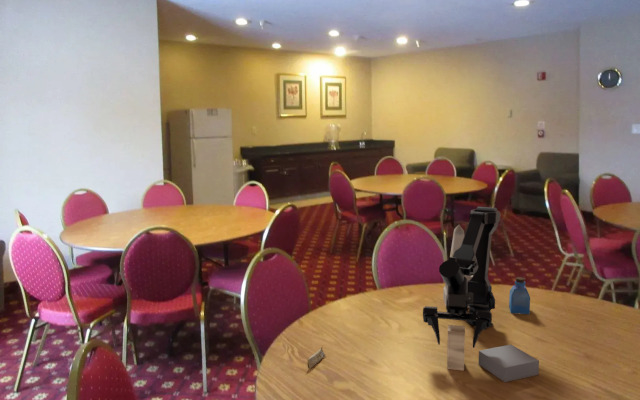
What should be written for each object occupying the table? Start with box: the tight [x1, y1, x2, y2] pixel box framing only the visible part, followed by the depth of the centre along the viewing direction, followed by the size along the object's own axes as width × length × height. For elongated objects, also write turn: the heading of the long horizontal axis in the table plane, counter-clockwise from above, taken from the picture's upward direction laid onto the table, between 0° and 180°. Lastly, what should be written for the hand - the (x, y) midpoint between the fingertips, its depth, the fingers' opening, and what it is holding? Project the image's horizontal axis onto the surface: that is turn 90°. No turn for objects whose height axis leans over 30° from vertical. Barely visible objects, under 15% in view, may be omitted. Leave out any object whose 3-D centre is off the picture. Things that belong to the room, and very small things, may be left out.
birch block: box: [446, 324, 466, 372], centre depth 145 cm, size 4×4×11 cm
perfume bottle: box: [508, 276, 531, 315], centre depth 186 cm, size 6×6×12 cm
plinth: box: [478, 344, 540, 383], centre depth 143 cm, size 11×11×4 cm
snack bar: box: [306, 346, 326, 370], centre depth 149 cm, size 10×2×3 cm, turn 151°
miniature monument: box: [442, 224, 473, 309], centre depth 194 cm, size 10×10×30 cm
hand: (456, 345), depth 144 cm, fingers open, 9 cm apart
